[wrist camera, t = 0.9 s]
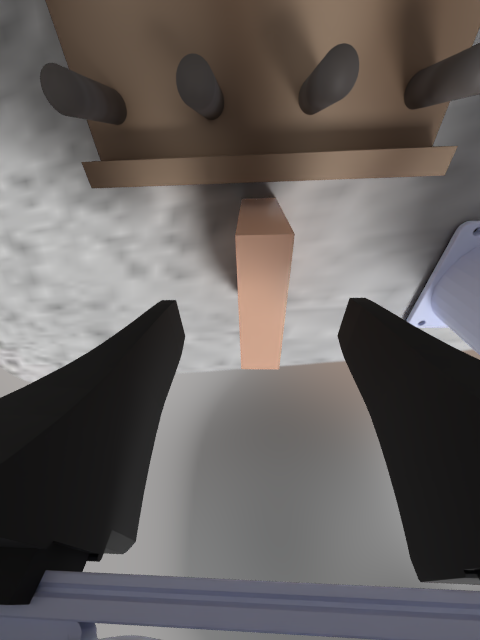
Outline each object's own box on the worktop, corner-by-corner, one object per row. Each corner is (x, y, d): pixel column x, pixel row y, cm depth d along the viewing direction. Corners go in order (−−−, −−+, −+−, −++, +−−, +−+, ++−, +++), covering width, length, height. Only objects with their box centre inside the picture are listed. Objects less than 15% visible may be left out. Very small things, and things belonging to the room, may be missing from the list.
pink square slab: (275, 197, 13) (294, 234, 7) (269, 298, 17) (278, 369, 12) (241, 198, 13) (235, 235, 7) (244, 298, 17) (241, 369, 12)
